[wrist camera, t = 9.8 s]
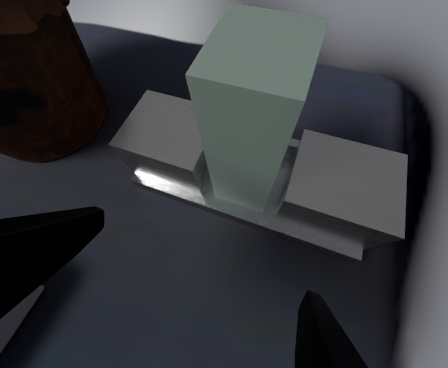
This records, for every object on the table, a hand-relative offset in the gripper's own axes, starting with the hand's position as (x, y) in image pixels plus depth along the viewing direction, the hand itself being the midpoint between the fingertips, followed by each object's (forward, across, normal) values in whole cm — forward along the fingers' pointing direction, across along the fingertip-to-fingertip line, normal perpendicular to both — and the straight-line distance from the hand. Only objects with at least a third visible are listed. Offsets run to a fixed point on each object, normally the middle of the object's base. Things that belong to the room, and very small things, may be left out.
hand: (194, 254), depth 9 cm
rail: (+13, 0, +1) cm, 13 cm away
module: (+12, 0, 0) cm, 12 cm away
